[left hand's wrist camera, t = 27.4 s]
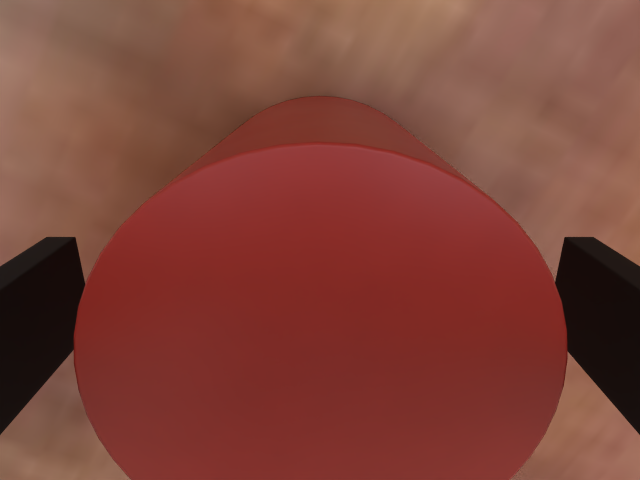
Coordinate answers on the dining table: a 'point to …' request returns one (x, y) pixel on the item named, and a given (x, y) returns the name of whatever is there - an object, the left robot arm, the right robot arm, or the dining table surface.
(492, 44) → the dining table surface
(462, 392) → the canister
